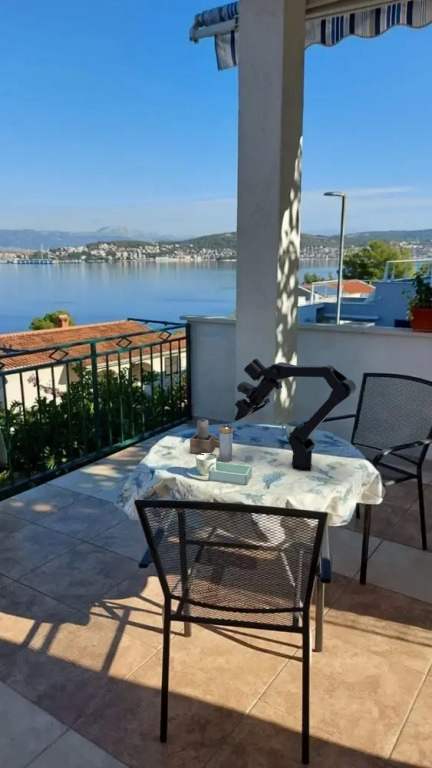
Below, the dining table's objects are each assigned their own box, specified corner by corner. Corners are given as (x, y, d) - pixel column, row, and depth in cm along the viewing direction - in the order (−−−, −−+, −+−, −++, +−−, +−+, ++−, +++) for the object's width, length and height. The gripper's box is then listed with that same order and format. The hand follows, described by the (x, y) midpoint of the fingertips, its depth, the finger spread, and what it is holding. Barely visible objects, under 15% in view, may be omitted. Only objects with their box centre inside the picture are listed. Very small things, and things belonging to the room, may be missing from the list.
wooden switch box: (227, 443, 208) (227, 435, 207) (223, 448, 202) (223, 440, 201) (208, 441, 210) (208, 433, 209) (204, 446, 204) (204, 438, 203)
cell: (233, 458, 191) (234, 423, 188) (230, 462, 187) (231, 427, 183) (220, 456, 193) (221, 422, 190) (217, 461, 188) (217, 425, 185)
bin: (214, 449, 201) (215, 417, 198) (209, 455, 193) (209, 423, 190) (196, 446, 203) (196, 415, 200) (189, 453, 195) (189, 421, 192)
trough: (251, 475, 175) (251, 466, 175) (246, 485, 167) (246, 475, 166) (215, 470, 179) (215, 461, 178) (208, 480, 171) (208, 470, 170)
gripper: (259, 371, 197) (238, 398, 204) (236, 379, 181) (214, 408, 188) (279, 390, 193) (257, 417, 201) (258, 400, 178) (234, 429, 185)
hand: (241, 417), depth 194 cm, fingers open, 9 cm apart
